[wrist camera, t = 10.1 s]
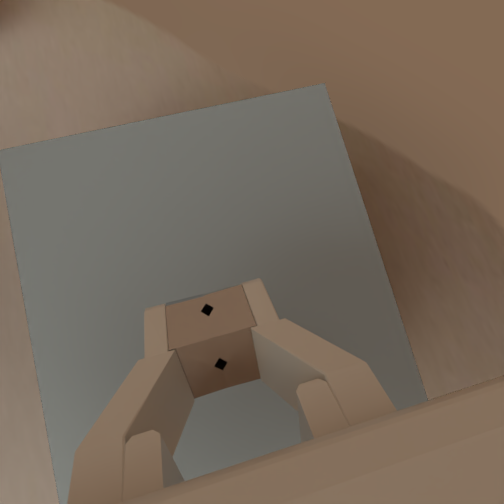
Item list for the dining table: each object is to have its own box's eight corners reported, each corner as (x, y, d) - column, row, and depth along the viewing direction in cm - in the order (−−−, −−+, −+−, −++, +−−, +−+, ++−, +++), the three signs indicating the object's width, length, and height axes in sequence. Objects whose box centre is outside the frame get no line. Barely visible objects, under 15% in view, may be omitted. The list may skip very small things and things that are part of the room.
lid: (432, 440, 16) (443, 446, 15) (80, 557, 14) (71, 572, 13) (320, 93, 18) (324, 83, 17) (8, 158, 16) (-3, 150, 16)
